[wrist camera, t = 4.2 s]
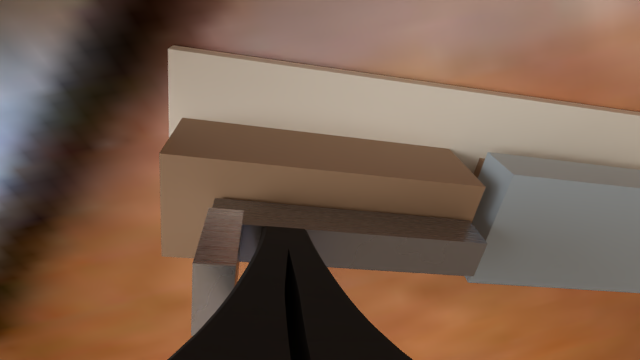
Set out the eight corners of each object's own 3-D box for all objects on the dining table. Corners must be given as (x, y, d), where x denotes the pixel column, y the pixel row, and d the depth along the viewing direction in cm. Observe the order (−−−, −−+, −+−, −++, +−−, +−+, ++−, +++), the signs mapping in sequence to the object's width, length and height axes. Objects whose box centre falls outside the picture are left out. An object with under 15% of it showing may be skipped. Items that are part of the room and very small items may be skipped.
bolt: (453, 261, 15) (504, 346, 12) (212, 244, 14) (191, 335, 10) (474, 208, 14) (537, 284, 11) (215, 184, 13) (192, 262, 9)
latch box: (614, 272, 23) (681, 331, 19) (174, 241, 19) (149, 307, 15) (709, 122, 19) (816, 160, 15) (172, 45, 15) (138, 69, 11)
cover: (621, 264, 20) (655, 293, 18) (449, 252, 18) (468, 282, 16) (677, 174, 17) (722, 197, 16) (487, 151, 16) (513, 174, 14)
